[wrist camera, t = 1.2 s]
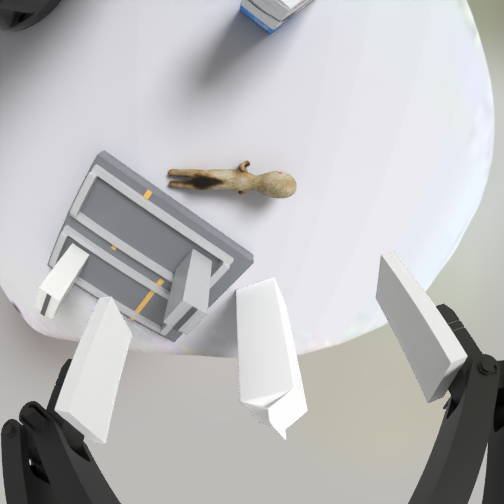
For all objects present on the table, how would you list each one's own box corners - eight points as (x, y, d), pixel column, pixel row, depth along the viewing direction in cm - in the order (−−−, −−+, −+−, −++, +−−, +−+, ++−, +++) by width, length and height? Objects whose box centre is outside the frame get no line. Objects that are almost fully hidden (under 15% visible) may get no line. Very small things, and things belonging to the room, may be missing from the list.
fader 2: (176, 268, 39) (162, 323, 30) (192, 248, 38) (182, 301, 29) (194, 280, 40) (186, 336, 31) (212, 260, 39) (207, 315, 30)
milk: (273, 276, 44) (301, 413, 25) (286, 305, 47) (314, 433, 28) (234, 289, 44) (240, 427, 25) (249, 317, 47) (261, 446, 29)
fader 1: (64, 262, 37) (32, 307, 29) (72, 243, 36) (38, 288, 27) (80, 273, 39) (52, 321, 30) (89, 254, 37) (59, 302, 28)
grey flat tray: (52, 258, 40) (43, 270, 37) (104, 150, 32) (92, 157, 29) (175, 333, 49) (173, 348, 46) (252, 254, 41) (254, 268, 38)
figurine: (178, 185, 38) (296, 193, 36) (163, 198, 34) (294, 207, 32) (176, 158, 36) (298, 164, 34) (160, 167, 32) (297, 174, 30)
